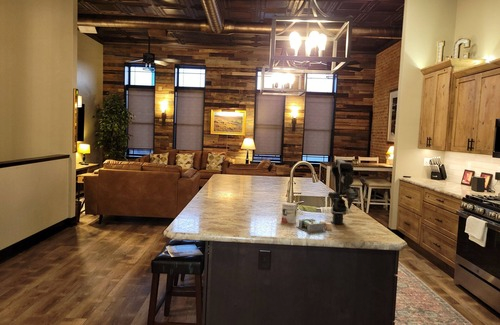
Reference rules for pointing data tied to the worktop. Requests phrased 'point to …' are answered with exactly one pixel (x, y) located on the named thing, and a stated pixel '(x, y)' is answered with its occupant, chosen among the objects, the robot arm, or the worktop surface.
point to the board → (309, 222)
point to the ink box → (289, 212)
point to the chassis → (311, 226)
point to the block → (327, 225)
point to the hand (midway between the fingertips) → (342, 209)
